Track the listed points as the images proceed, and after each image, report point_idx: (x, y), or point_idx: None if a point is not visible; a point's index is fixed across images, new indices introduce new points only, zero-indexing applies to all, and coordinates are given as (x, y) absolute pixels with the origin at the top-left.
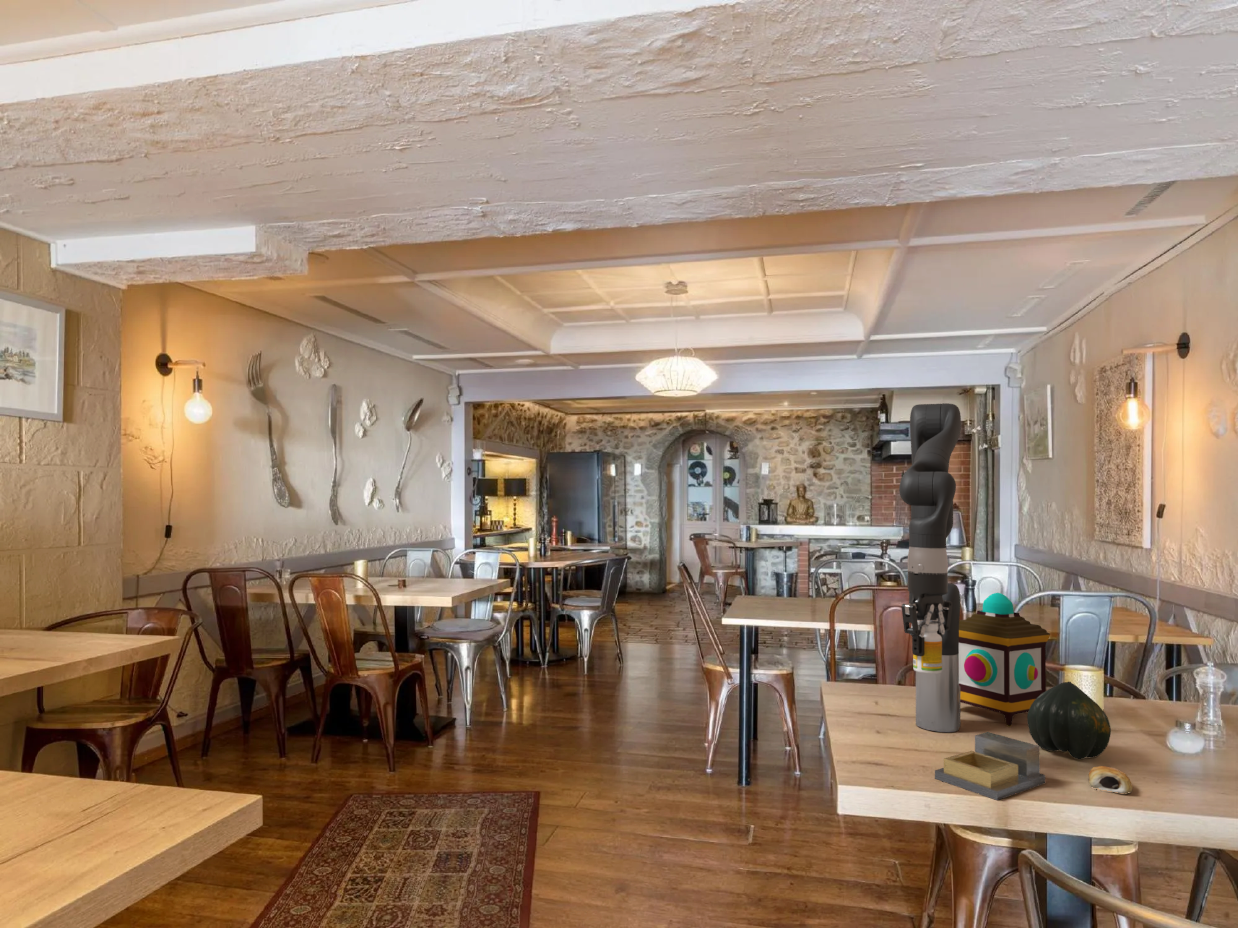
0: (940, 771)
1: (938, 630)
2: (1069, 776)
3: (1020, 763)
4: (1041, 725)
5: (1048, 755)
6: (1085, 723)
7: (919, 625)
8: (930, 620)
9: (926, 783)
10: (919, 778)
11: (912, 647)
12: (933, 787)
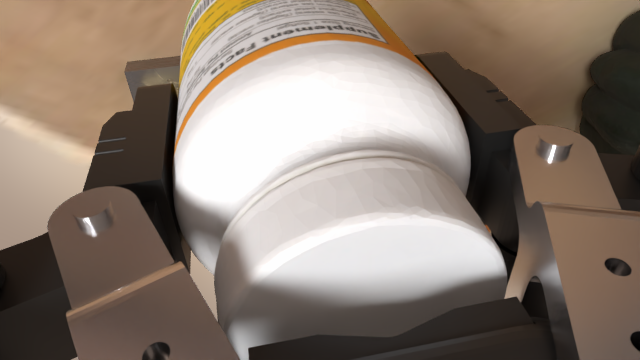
0: (134, 84)
1: (499, 238)
2: None
3: None
4: (621, 86)
5: (577, 59)
6: None
7: (217, 304)
8: (525, 286)
9: (71, 79)
10: (78, 43)
11: (101, 139)
12: (70, 106)
